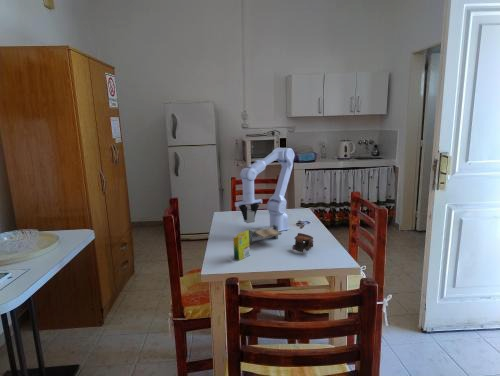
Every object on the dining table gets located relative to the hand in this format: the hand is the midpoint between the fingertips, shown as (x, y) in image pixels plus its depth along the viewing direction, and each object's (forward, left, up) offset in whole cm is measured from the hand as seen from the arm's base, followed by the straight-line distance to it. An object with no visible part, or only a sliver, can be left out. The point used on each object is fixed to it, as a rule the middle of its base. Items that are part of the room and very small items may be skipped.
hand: (249, 218), depth 167 cm
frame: (-3, +8, -10) cm, 13 cm away
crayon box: (+15, +21, -10) cm, 28 cm away
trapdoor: (-3, +8, -4) cm, 10 cm away
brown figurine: (-11, +29, -11) cm, 33 cm away
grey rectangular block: (0, 0, -2) cm, 2 cm away
